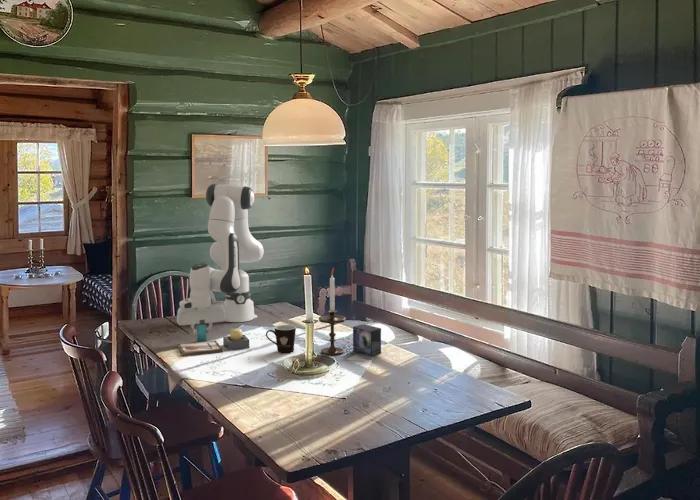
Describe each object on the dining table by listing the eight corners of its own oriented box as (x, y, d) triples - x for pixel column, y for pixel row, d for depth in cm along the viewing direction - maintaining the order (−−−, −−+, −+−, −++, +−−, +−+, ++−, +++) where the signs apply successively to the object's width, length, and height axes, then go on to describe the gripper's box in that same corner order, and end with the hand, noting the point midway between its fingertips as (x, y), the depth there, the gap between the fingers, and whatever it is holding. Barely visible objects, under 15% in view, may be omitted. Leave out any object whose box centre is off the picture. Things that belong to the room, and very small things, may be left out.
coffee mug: (300, 350, 277) (300, 326, 275) (288, 355, 269) (287, 331, 268) (277, 346, 283) (277, 323, 281) (264, 351, 275) (264, 327, 274)
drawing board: (177, 346, 282) (177, 343, 282) (215, 343, 288) (215, 339, 288) (182, 356, 268) (182, 353, 268) (222, 352, 274) (222, 348, 274)
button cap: (228, 338, 284) (228, 329, 283) (240, 337, 286) (240, 328, 285) (231, 341, 279) (231, 332, 279) (243, 340, 281) (243, 330, 281)
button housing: (223, 344, 285) (223, 336, 285) (244, 342, 289) (244, 334, 288) (227, 350, 277) (227, 341, 277) (249, 347, 280) (249, 339, 280)
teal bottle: (196, 341, 291) (195, 318, 290) (206, 340, 293) (205, 317, 292) (197, 343, 288) (197, 320, 286) (207, 342, 289) (207, 319, 288)
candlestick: (351, 352, 274) (351, 267, 270) (332, 357, 266) (332, 270, 262) (331, 347, 281) (331, 264, 277) (313, 352, 273) (312, 267, 269)
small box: (351, 351, 275) (351, 326, 274) (363, 348, 280) (363, 323, 279) (370, 356, 268) (370, 330, 267) (381, 353, 272) (381, 328, 271)
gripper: (223, 298, 295) (224, 329, 297) (175, 302, 287) (176, 334, 289) (226, 301, 289) (227, 332, 291) (177, 305, 281) (178, 337, 283)
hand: (201, 333), depth 290 cm, fingers closed on teal bottle, 4 cm apart
